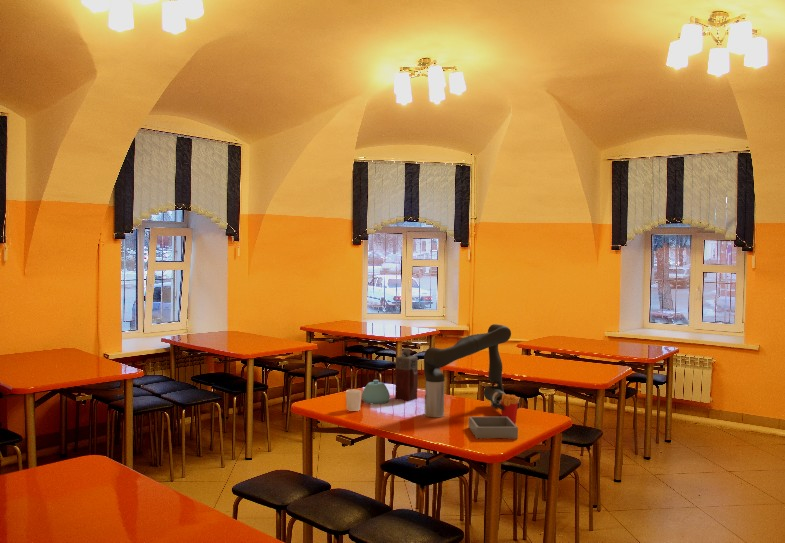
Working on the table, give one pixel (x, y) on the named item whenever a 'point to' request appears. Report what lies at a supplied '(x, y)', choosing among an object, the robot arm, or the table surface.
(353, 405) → the white cup
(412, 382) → the brown coffee grinder
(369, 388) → the sugar bowl
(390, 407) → the table surface
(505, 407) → the french fries
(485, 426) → the bin
